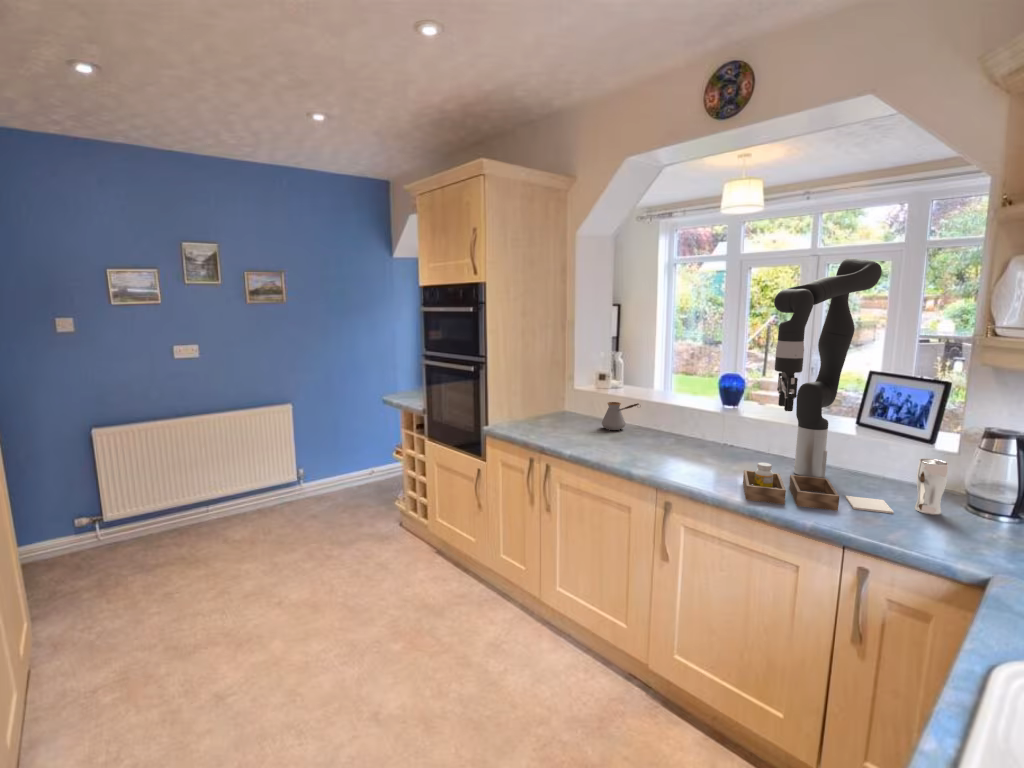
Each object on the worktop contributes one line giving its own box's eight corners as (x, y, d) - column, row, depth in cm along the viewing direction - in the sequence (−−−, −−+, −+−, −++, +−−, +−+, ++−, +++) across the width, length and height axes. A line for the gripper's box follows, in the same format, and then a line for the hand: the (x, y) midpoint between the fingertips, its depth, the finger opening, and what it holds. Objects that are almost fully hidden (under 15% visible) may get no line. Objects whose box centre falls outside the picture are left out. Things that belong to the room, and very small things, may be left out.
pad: (883, 501, 162) (883, 499, 162) (893, 513, 153) (893, 511, 153) (845, 497, 165) (845, 495, 165) (853, 508, 156) (853, 507, 156)
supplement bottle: (775, 496, 167) (777, 466, 165) (757, 496, 167) (760, 466, 165) (767, 490, 172) (769, 461, 170) (750, 490, 172) (752, 461, 170)
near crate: (826, 492, 170) (827, 478, 170) (837, 510, 155) (839, 496, 154) (789, 488, 174) (790, 474, 173) (796, 505, 158) (797, 491, 158)
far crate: (778, 486, 175) (779, 473, 174) (784, 504, 160) (785, 490, 159) (742, 482, 179) (743, 470, 178) (745, 499, 163) (746, 485, 163)
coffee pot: (596, 428, 257) (597, 398, 255) (612, 425, 264) (613, 395, 262) (629, 437, 240) (631, 405, 238) (646, 433, 247) (647, 402, 245)
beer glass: (913, 504, 160) (919, 456, 157) (942, 510, 155) (949, 461, 153) (912, 511, 154) (917, 462, 152) (942, 517, 150) (949, 466, 148)
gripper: (809, 358, 152) (804, 413, 155) (797, 354, 166) (793, 405, 168) (780, 357, 154) (776, 412, 157) (771, 353, 168) (767, 403, 170)
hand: (785, 408), depth 162 cm, fingers open, 8 cm apart
